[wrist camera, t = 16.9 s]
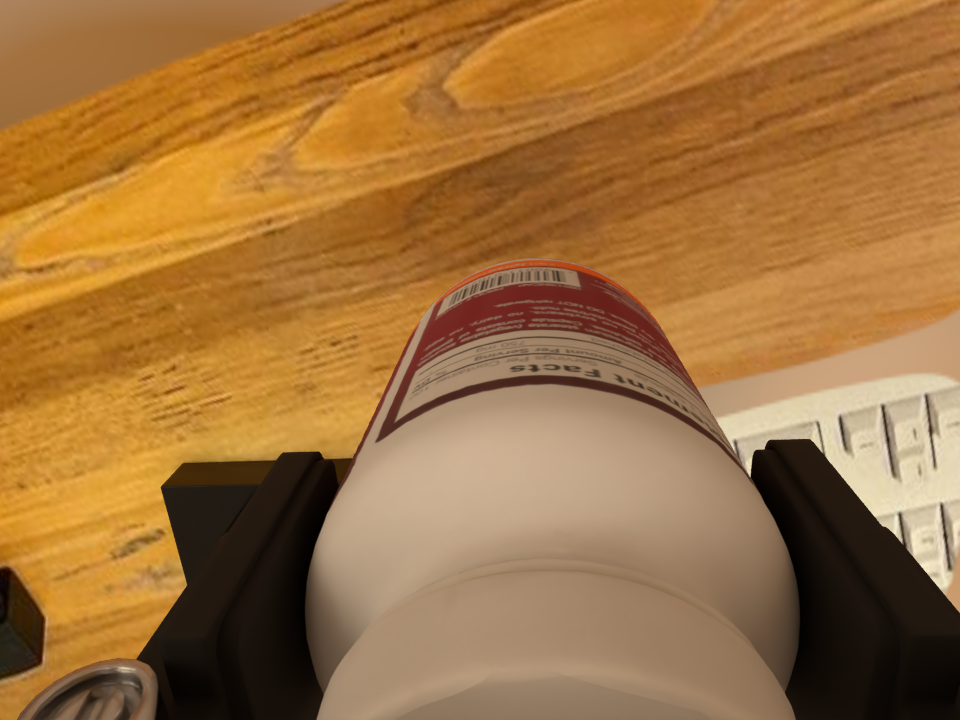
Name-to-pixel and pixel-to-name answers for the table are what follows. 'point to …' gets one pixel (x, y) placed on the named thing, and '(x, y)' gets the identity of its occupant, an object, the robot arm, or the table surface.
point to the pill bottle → (548, 526)
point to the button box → (213, 503)
